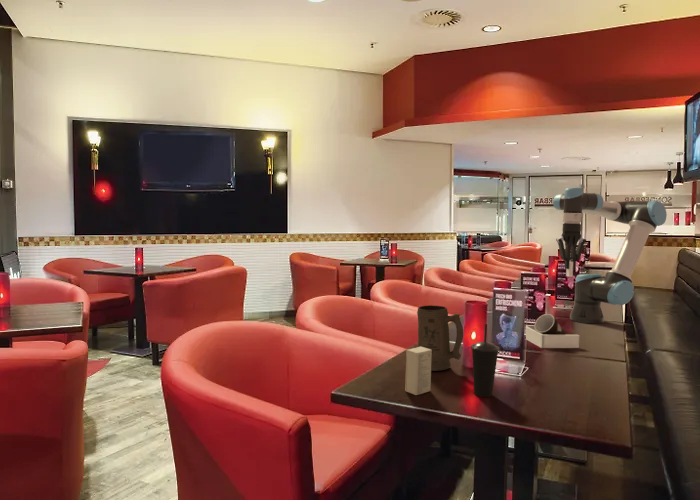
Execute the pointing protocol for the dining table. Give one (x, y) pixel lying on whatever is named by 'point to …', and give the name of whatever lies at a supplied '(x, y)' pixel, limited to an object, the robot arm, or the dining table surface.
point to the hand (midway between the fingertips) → (569, 276)
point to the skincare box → (418, 370)
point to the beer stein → (438, 335)
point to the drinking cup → (484, 366)
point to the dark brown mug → (548, 325)
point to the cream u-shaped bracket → (551, 339)
